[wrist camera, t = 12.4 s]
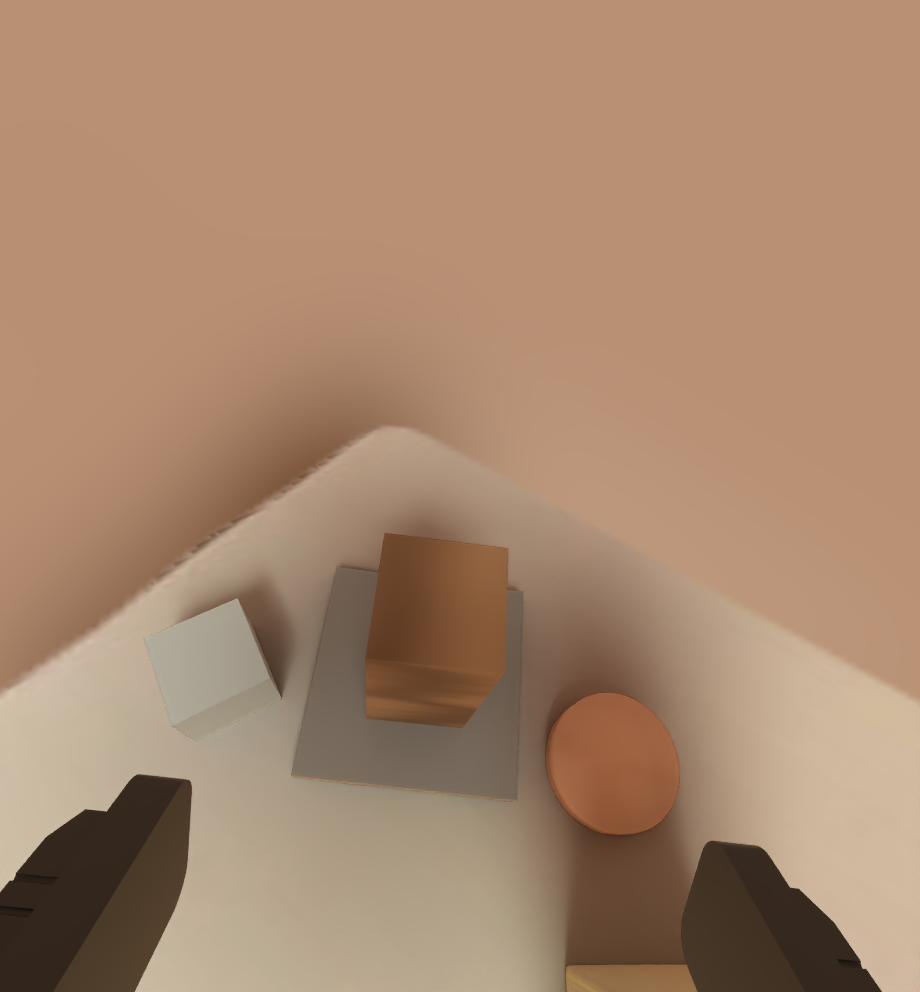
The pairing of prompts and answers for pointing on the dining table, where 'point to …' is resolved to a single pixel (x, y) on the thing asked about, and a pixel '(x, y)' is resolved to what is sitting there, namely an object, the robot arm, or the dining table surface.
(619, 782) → the orange disc
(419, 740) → the slate coaster
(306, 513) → the dining table surface
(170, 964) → the dining table surface
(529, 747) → the dining table surface
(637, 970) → the toy refrigerator
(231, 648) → the grey cube
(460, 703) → the walnut block
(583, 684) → the dining table surface
